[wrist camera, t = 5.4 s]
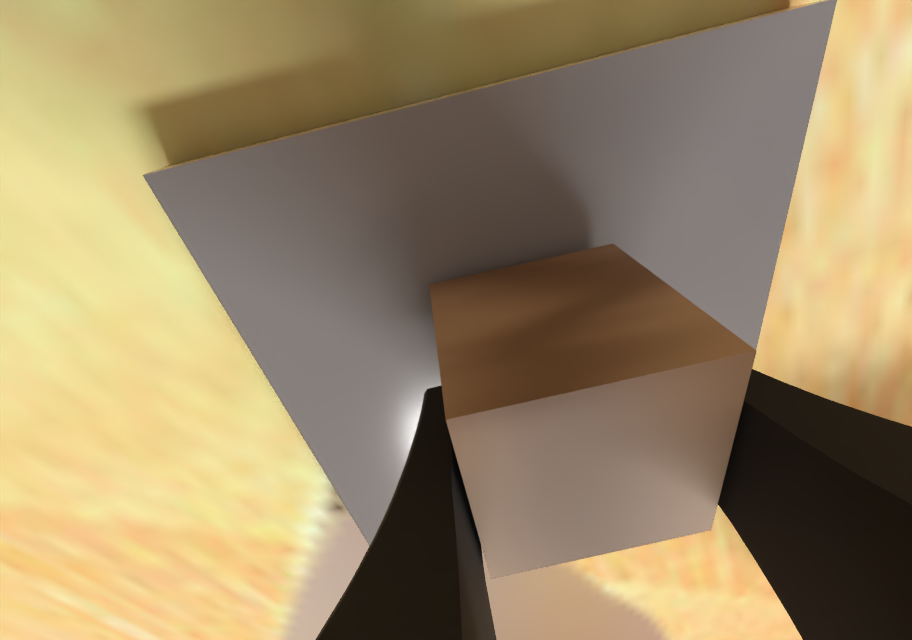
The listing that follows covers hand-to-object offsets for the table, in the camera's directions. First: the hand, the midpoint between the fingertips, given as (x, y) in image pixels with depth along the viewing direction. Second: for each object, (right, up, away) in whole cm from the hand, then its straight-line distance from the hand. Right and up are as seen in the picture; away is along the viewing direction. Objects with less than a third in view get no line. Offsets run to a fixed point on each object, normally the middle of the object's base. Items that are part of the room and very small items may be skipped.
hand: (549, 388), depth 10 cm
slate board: (0, +1, +4) cm, 4 cm away
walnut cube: (0, +1, +1) cm, 2 cm away
